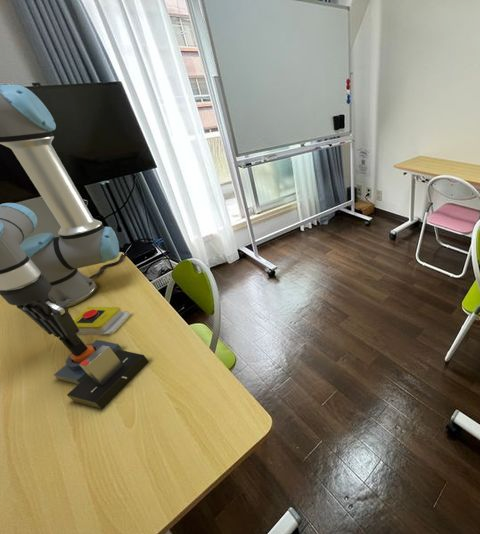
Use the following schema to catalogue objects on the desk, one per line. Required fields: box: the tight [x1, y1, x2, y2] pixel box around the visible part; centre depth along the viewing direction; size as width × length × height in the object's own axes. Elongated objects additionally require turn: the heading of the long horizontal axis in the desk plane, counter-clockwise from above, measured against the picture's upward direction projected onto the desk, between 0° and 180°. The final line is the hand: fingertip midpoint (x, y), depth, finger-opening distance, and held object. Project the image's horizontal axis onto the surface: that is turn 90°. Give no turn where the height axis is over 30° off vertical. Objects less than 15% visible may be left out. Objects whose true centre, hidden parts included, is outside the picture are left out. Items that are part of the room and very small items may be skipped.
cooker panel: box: [66, 350, 149, 410], centre depth 76 cm, size 14×11×3 cm
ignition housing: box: [53, 339, 123, 385], centre depth 81 cm, size 12×8×4 cm, turn 166°
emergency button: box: [72, 306, 131, 336], centre depth 93 cm, size 9×4×15 cm
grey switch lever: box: [80, 345, 124, 385], centre depth 73 cm, size 6×2×8 cm, turn 166°
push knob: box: [70, 344, 96, 363], centre depth 80 cm, size 5×5×3 cm
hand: (80, 351), depth 79 cm, fingers closed
